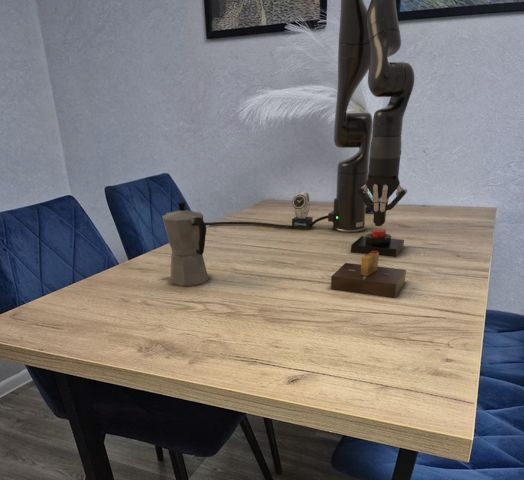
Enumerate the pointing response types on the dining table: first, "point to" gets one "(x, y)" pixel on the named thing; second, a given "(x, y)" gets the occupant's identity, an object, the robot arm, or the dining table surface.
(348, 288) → the plate
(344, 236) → the dining table surface
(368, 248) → the alarm box
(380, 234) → the arm button
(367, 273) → the thumbturn
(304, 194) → the watch
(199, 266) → the coffeepot
